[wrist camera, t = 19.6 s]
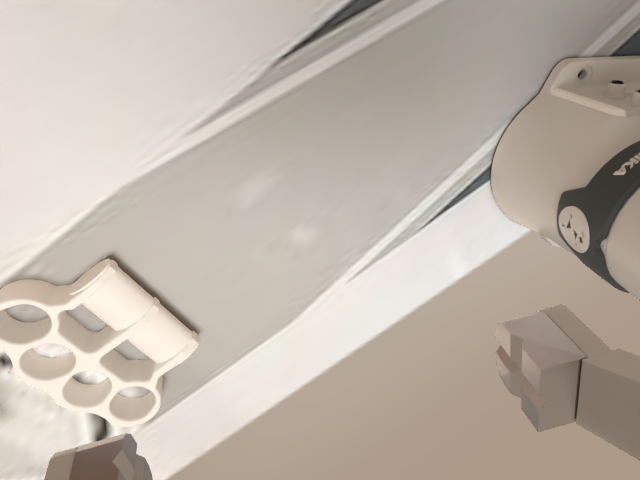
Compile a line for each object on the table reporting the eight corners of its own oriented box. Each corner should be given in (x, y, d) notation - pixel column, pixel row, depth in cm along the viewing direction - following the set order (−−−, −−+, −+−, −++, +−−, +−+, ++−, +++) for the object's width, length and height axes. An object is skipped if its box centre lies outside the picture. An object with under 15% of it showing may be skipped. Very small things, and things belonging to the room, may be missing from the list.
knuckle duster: (220, 348, 54) (109, 424, 56) (83, 225, 45) (-45, 321, 46) (222, 371, 51) (104, 451, 53) (75, 244, 42) (-61, 346, 44)
